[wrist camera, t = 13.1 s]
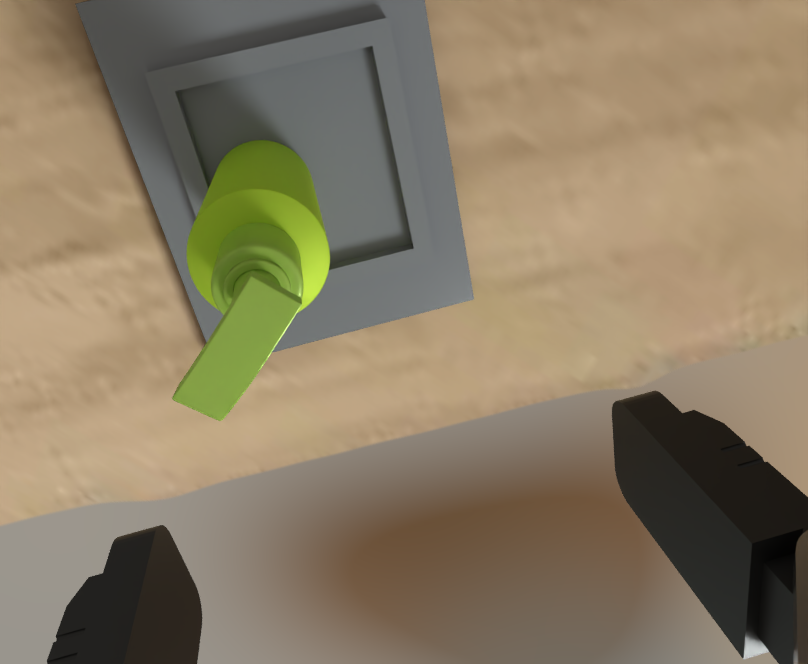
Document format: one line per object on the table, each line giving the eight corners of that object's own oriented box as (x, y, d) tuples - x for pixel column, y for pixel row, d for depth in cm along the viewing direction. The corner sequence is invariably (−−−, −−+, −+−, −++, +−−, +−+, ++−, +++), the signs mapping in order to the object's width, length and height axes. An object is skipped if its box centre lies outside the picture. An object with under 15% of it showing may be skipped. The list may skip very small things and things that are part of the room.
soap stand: (83, 4, 34) (69, 2, 32) (407, -66, 36) (416, -73, 33) (217, 357, 44) (214, 374, 42) (468, 291, 45) (478, 304, 43)
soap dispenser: (186, 219, 38) (110, 380, 21) (245, 119, 37) (217, 201, 19) (272, 268, 41) (271, 453, 23) (332, 176, 39) (380, 298, 21)
